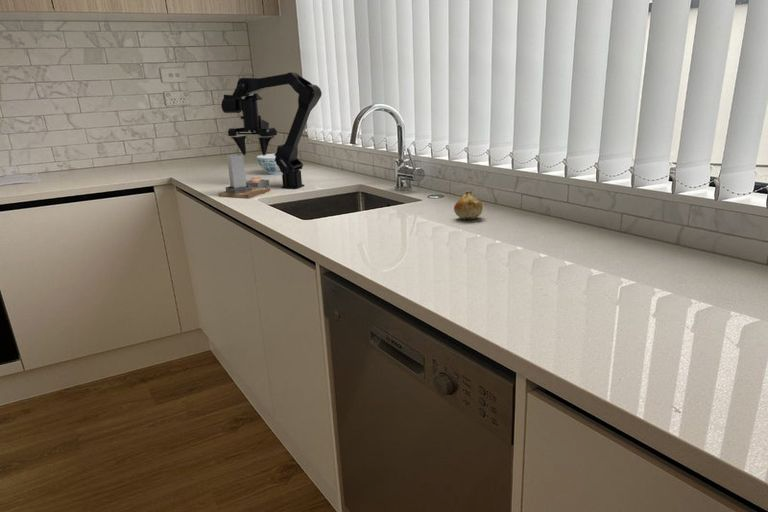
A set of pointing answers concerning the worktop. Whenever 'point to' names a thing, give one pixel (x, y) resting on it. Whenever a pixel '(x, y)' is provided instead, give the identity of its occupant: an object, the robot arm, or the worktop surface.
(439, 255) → the worktop surface
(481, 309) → the worktop surface
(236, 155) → the billet
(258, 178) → the button
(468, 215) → the onion
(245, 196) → the brown flat square block
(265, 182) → the button housing
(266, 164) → the chinaware
